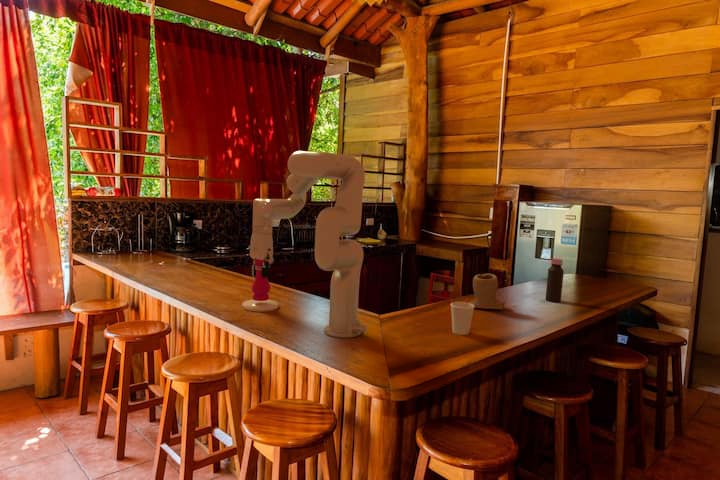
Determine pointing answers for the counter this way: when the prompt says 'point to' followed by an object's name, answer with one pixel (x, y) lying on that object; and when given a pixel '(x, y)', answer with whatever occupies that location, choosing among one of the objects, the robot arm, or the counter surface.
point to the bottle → (554, 281)
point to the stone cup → (486, 292)
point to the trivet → (260, 305)
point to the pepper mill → (260, 283)
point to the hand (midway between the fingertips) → (261, 275)
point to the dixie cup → (461, 317)
